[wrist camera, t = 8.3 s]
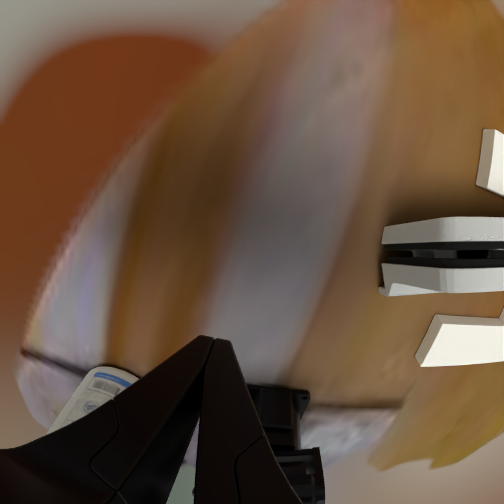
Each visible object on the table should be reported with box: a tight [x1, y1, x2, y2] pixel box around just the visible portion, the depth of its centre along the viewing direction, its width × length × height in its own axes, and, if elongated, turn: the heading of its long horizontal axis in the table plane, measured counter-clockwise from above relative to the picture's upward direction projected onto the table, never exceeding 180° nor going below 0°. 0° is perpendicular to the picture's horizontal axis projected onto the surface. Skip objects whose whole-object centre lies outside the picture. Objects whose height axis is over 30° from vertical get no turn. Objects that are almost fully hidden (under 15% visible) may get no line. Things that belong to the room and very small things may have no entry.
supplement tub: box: [46, 367, 139, 435], centre depth 19 cm, size 10×10×15 cm
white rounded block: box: [379, 217, 504, 296], centre depth 14 cm, size 17×5×10 cm, turn 93°
